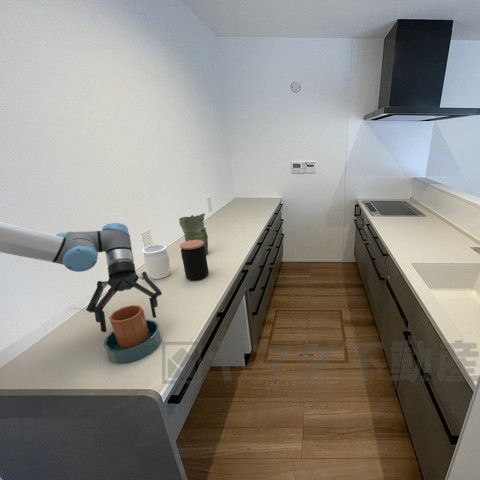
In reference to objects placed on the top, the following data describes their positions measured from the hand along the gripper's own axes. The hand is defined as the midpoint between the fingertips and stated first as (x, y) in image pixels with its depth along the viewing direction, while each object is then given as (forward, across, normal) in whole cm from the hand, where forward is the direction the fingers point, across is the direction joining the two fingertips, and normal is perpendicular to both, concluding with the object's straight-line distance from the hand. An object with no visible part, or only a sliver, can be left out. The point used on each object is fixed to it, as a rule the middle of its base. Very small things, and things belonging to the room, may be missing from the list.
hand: (130, 323), depth 85 cm
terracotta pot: (+7, 0, -6) cm, 9 cm away
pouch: (-42, -30, -56) cm, 76 cm away
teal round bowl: (+7, 0, -6) cm, 9 cm away
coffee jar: (-22, -25, -36) cm, 49 cm away
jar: (-30, -9, -43) cm, 54 cm away
